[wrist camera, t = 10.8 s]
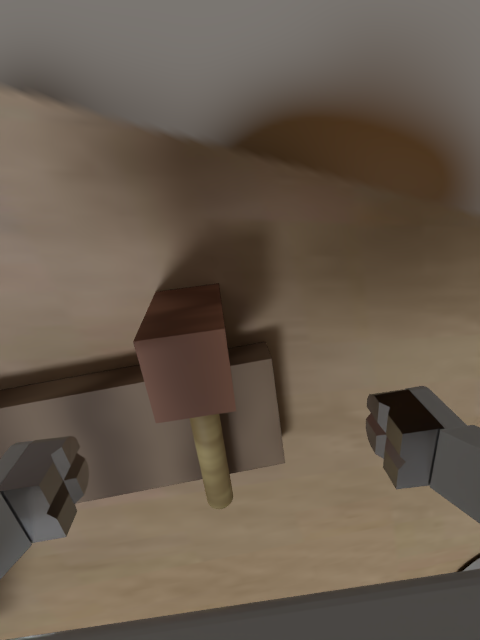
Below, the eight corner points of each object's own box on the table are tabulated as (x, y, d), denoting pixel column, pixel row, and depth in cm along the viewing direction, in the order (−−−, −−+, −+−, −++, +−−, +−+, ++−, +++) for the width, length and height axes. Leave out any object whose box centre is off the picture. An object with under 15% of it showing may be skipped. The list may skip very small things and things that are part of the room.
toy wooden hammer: (218, 283, 18) (224, 328, 12) (242, 451, 23) (254, 536, 17) (155, 291, 18) (133, 341, 12) (193, 459, 23) (190, 547, 17)
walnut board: (265, 341, 19) (272, 359, 18) (278, 440, 23) (285, 464, 21) (-67, 402, 19) (-98, 427, 17) (-5, 494, 22) (-25, 524, 20)
